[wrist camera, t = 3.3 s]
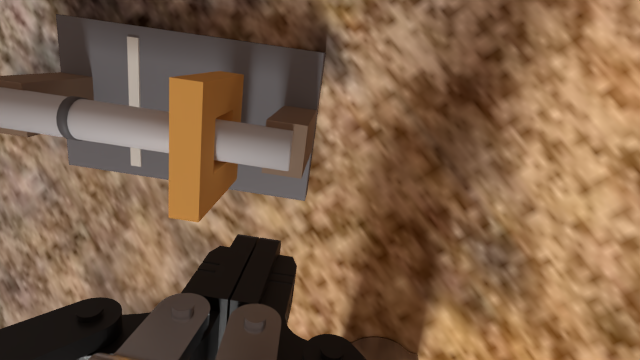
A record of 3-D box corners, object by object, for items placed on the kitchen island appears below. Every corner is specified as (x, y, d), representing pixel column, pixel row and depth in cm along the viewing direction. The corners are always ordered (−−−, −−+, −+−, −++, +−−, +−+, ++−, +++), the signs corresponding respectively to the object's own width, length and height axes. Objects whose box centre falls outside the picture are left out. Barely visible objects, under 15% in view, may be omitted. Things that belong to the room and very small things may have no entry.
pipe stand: (325, 53, 34) (315, 52, 23) (306, 193, 39) (290, 248, 28) (71, 16, 35) (-55, -2, 24) (82, 159, 39) (-20, 199, 28)
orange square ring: (244, 74, 30) (203, 82, 22) (236, 179, 33) (198, 222, 24) (219, 70, 30) (169, 77, 22) (214, 175, 33) (168, 217, 25)
